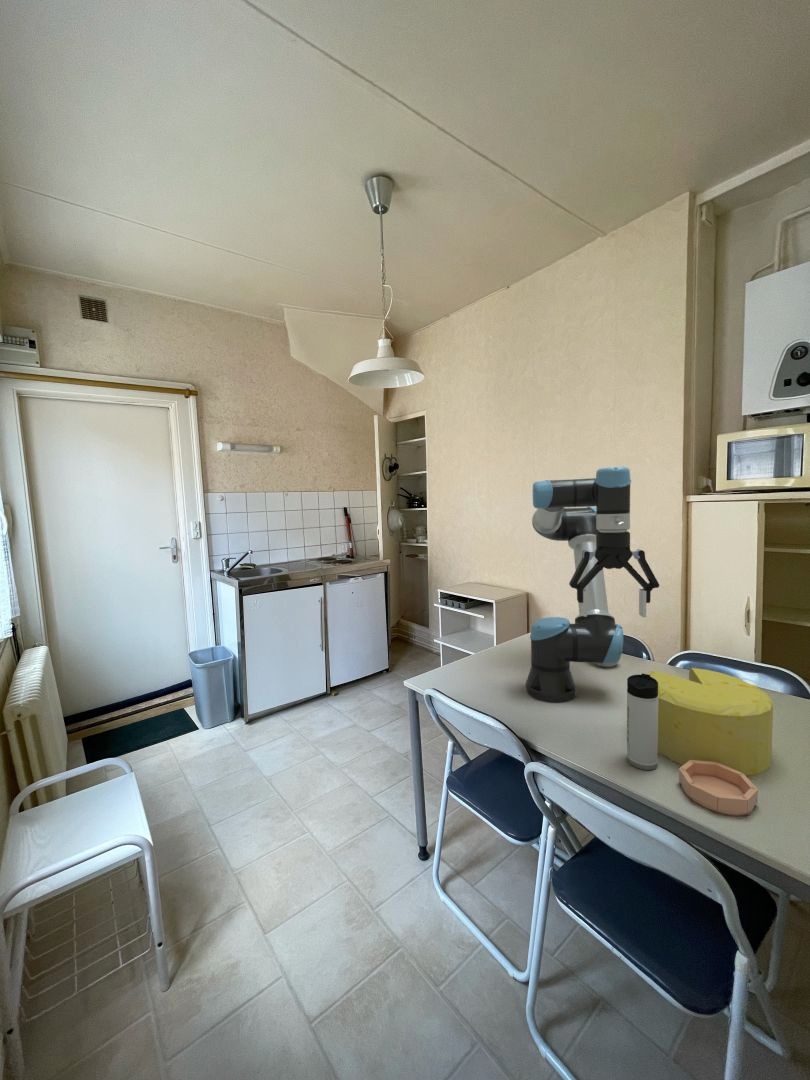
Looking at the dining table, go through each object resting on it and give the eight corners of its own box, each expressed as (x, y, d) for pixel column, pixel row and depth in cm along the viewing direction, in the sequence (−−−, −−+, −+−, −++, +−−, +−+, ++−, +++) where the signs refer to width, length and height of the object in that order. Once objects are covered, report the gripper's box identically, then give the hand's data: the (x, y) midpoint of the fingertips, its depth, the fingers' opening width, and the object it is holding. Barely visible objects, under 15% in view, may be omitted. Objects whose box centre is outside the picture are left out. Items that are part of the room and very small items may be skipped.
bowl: (697, 812, 83) (697, 795, 82) (672, 773, 94) (672, 758, 94) (768, 819, 80) (769, 801, 80) (733, 778, 92) (734, 763, 92)
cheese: (651, 707, 124) (652, 657, 122) (769, 735, 107) (771, 678, 106) (631, 750, 104) (631, 690, 102) (772, 793, 87) (775, 722, 86)
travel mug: (661, 760, 99) (661, 677, 97) (653, 774, 94) (654, 687, 93) (631, 750, 103) (631, 670, 102) (623, 763, 99) (623, 679, 97)
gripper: (562, 533, 104) (562, 618, 106) (675, 530, 99) (674, 620, 101) (557, 531, 111) (558, 611, 113) (662, 528, 106) (661, 612, 108)
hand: (612, 615), depth 107 cm, fingers open, 13 cm apart
